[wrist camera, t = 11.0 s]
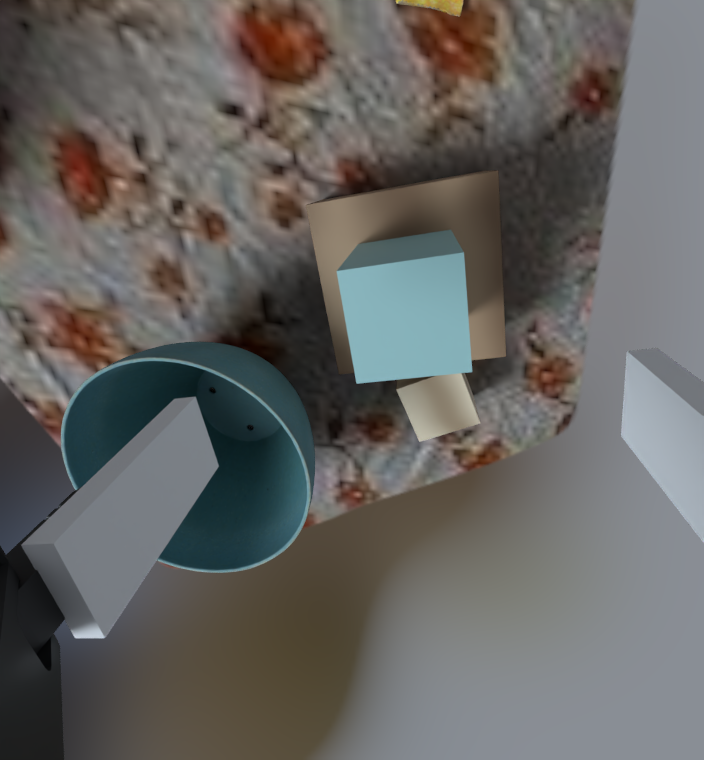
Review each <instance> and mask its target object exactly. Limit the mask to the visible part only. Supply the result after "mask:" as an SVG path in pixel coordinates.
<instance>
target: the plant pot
mask: <svg viewBox="0 0 704 760" xmlns="http://www.w3.org/2000/svg"><path fill="white" fill-rule="evenodd" d="M211 387H212V388H214V389H215V390H216V392H215V393H212V392H211V391H210V388H211ZM187 397H196V399H197V402H198V405H199V408H200V411H201V414H202V417H203V420H204V423H205V426H206V429H207V432H208V435H209V438H210V441H211V444H212V447H213V450H214V453H215V456H216V459H217V462H218V465H219V467H218V468H217V470H216V471H215V473H214V474H213V476H212V477H211V479H210V480H209V482H208V483H207V485H206V486H205V488H204V489H203V491H202V492H201V494H200V495H199V497H198V498H197V500H196V501H195V503H194V505H193V506H192V508H191V509H190V511H189V512H188V514H187V515H186V517H185V518H184V520H183V521H182V523H181V524H180V526H179V527H178V529H177V530H176V532H175V533H174V535H173V536H172V538H171V539H170V541H169V542H168V544H167V545H166V547H165V548H164V550H163V551H162V553H161V554H160V556H159V557H158V559H157V561H159V562H162V563H165V564H168V565H171V566H174V567H178V568H183V569H187V570H192V571H199V572H212V573H218V572H219V573H220V572H235V571H240V570H246V569H250V568H253V567H256V566H259V565H261V564H263V563H266V562H268V561H270V560H271V559H273V558H274V557H276V556H277V555H279V554H280V553H282V552H283V551H284V550H285V549H286V548H288V547H289V546H290V545H291V544H292V542H293V541H294V540H295V539H296V537H297V536H298V534H299V533H300V531H301V529H302V527H303V525H304V523H305V521H306V518H307V515H308V511H309V507H310V504H311V499H312V494H313V486H314V476H315V450H314V442H313V435H312V430H311V426H310V422H309V419H308V416H307V413H306V411H305V408H304V406H303V403H302V401H301V399H300V398H299V396H298V394H297V392H296V391H295V389H294V388H293V386H292V385H291V384H290V382H289V381H288V380H287V379H286V377H285V376H284V375H283V374H282V373H281V372H280V371H279V370H278V369H276V368H275V367H274V366H273V365H272V364H270V363H269V362H268V361H266V360H264V359H263V358H261V357H259V356H258V355H256V354H254V353H252V352H249V351H247V350H244V349H242V348H238V347H235V346H231V345H227V344H221V343H213V342H185V343H176V344H169V345H164V346H160V347H156V348H152V349H148V350H145V351H142V352H139V353H136V354H133V355H131V356H128V357H126V358H123V359H121V360H119V361H117V362H115V363H113V364H111V365H109V366H107V367H105V368H103V369H102V370H100V371H98V372H97V373H95V374H94V375H92V376H91V377H89V378H88V379H87V380H86V381H85V382H84V383H83V384H82V385H81V386H80V387H79V388H78V389H77V390H76V392H75V393H74V395H73V396H72V398H71V400H70V402H69V403H68V406H67V408H66V411H65V414H64V417H63V422H62V427H61V448H62V454H63V459H64V463H65V466H66V470H67V473H68V475H69V478H70V480H71V482H72V484H73V486H74V488H75V490H77V489H79V488H80V487H82V486H83V485H85V484H86V483H87V482H88V481H89V480H90V479H91V478H92V477H93V476H94V475H95V474H96V473H97V472H98V471H99V470H100V469H101V468H102V467H103V466H104V465H106V464H107V463H108V462H109V461H110V460H111V459H112V458H113V457H114V456H115V455H116V454H117V453H118V452H119V451H120V450H121V449H122V448H123V447H124V446H125V445H127V444H128V443H129V442H130V441H131V440H132V439H133V438H134V437H135V436H136V435H137V434H138V433H139V432H140V431H141V430H142V429H143V428H144V427H145V426H146V425H148V424H149V423H150V422H151V421H152V420H153V419H154V418H155V417H156V416H157V415H158V414H159V413H160V412H161V411H162V410H163V409H164V408H165V407H166V406H168V405H169V404H170V403H171V402H172V401H173V400H174V399H178V398H187ZM248 425H252V426H253V430H250V429H248V427H247V426H248Z"/></svg>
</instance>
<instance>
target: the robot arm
mask: <svg viewBox="0 0 704 760" xmlns="http://www.w3.org/2000/svg"><path fill="white" fill-rule="evenodd" d="M621 436H622V438H623V439H624V440H625V442H626V443H627V444H628V445H629V447H630V448H631V449H632V451H633V452H634V453H635V454H636V456H637V457H638V458H639V460H640V461H641V462H642V464H643V465H644V466H645V467H646V469H647V470H648V471H649V473H650V474H651V475H652V477H653V478H654V479H655V480H656V482H657V483H658V484H659V486H660V487H661V488H662V489H663V491H664V492H665V493H666V495H667V496H668V497H669V498H670V500H671V501H672V502H673V504H674V505H675V506H676V508H677V509H678V510H679V512H680V513H681V514H682V515H683V517H684V518H685V519H686V521H687V522H688V523H689V524H690V526H691V527H692V528H693V530H694V531H695V532H696V534H697V535H698V536H699V537H700V539H701V540H702V541H703V543H704V382H703V381H701V380H700V379H699V378H697V377H696V376H694V375H693V374H692V373H691V372H689V371H688V370H686V369H685V368H684V367H682V366H681V365H680V364H678V363H677V362H676V361H674V360H673V359H672V358H670V357H669V356H667V355H666V354H665V353H663V352H662V351H661V350H659V349H658V348H651V349H642V350H633V351H627V359H626V373H625V387H624V402H623V416H622V431H621ZM218 467H219V465H218V462H217V459H216V456H215V453H214V450H213V447H212V444H211V441H210V438H209V435H208V432H207V429H206V426H205V423H204V420H203V417H202V414H201V411H200V408H199V405H198V402H197V399H196V397H187V398H178V399H174V400H173V401H172V402H171V403H170V404H169V405H168V406H166V407H165V408H164V409H163V410H162V411H161V412H160V413H159V414H158V415H157V416H156V417H155V418H154V419H153V420H152V421H151V422H150V423H149V424H148V425H146V426H145V427H144V428H143V429H142V430H141V431H140V432H139V433H138V434H137V435H136V436H135V437H134V438H133V439H132V440H131V441H130V442H129V443H128V444H127V445H125V446H124V447H123V448H122V449H121V450H120V451H119V452H118V453H117V454H116V455H115V456H114V457H113V458H112V459H111V460H110V461H109V462H108V463H107V464H106V465H104V466H103V467H102V468H101V469H100V470H99V471H98V472H97V473H96V474H95V475H94V476H93V477H92V478H91V479H90V480H89V481H88V482H87V483H86V484H85V485H83V486H82V487H80V488H79V489H77V490H76V491H74V492H72V493H71V494H70V495H69V496H68V497H67V498H66V499H65V500H64V501H63V502H62V503H61V504H60V505H59V506H58V508H57V509H54V510H53V511H52V512H51V513H50V514H49V515H48V516H47V519H46V520H43V521H42V522H41V523H40V524H38V525H37V526H36V527H35V528H34V529H33V530H32V531H31V532H30V533H29V534H28V535H27V536H26V537H25V538H24V539H23V540H22V541H20V542H19V543H18V544H17V545H16V546H15V547H14V548H13V549H12V550H11V551H10V552H9V553H8V554H7V555H5V553H4V551H3V550H2V548H1V546H0V760H64V743H63V720H62V719H63V718H62V692H61V665H60V645H59V643H58V640H57V639H56V637H55V635H54V632H55V631H56V629H57V628H58V627H59V626H60V624H61V623H62V622H63V621H64V620H65V621H66V623H67V625H68V627H69V628H70V630H71V632H72V633H73V635H74V637H75V638H105V637H106V636H107V634H108V633H109V631H110V630H111V628H112V627H113V625H114V624H115V622H116V621H117V619H118V618H119V616H120V615H121V613H122V612H123V610H124V609H125V607H126V606H127V604H128V603H129V601H130V600H131V598H132V597H133V595H134V594H135V592H136V591H137V589H138V588H139V586H140V585H141V583H142V581H143V580H144V578H145V577H146V575H147V574H148V572H149V571H150V569H151V568H152V566H153V565H154V563H155V562H156V560H157V559H158V557H159V556H160V554H161V553H162V551H163V550H164V548H165V547H166V545H167V544H168V542H169V541H170V539H171V538H172V536H173V535H174V533H175V532H176V530H177V529H178V527H179V526H180V524H181V523H182V521H183V520H184V518H185V517H186V515H187V514H188V512H189V511H190V509H191V508H192V506H193V505H194V503H195V501H196V500H197V498H198V497H199V495H200V494H201V492H202V491H203V489H204V488H205V486H206V485H207V483H208V482H209V480H210V479H211V477H212V476H213V474H214V473H215V471H216V470H217V468H218Z"/></svg>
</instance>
